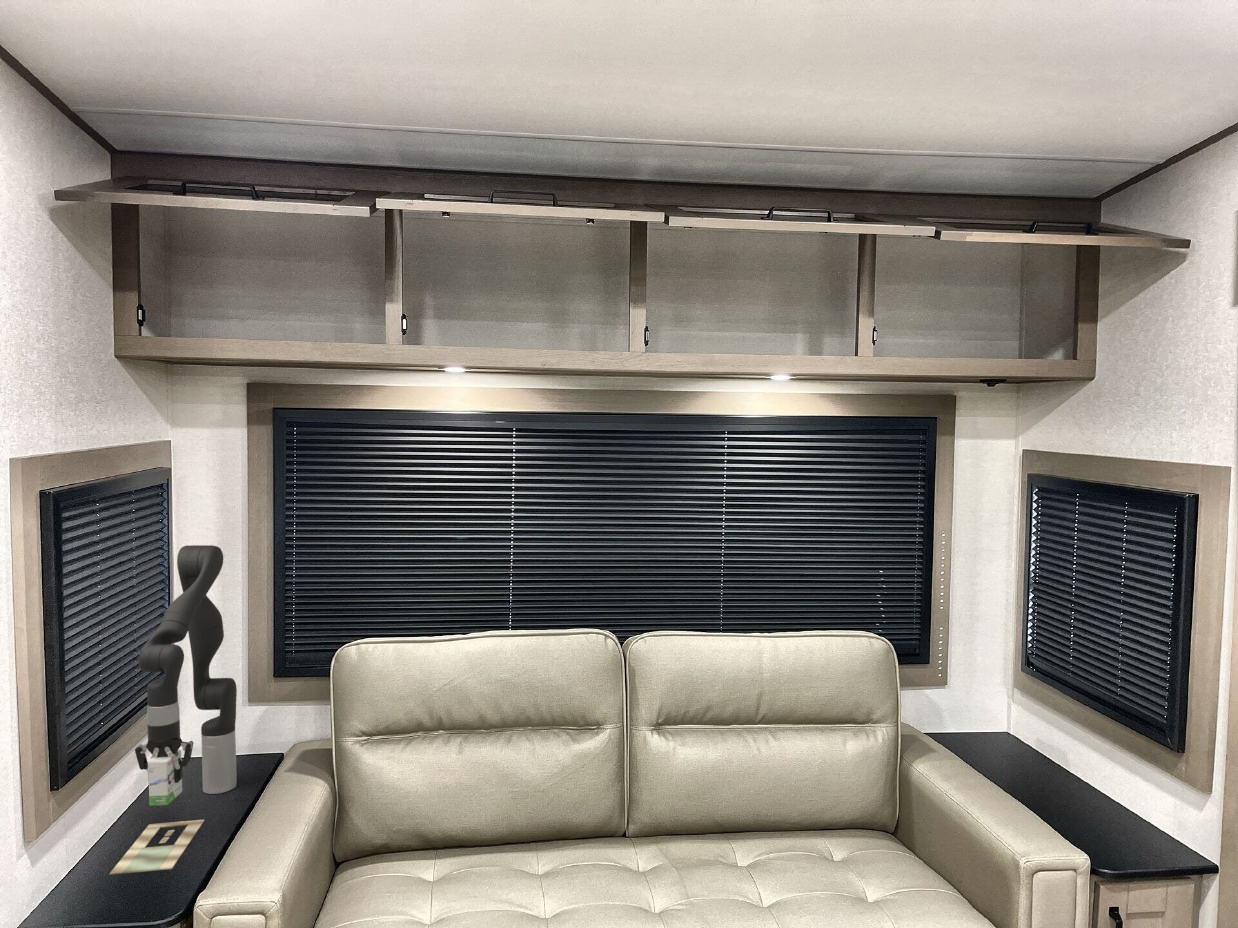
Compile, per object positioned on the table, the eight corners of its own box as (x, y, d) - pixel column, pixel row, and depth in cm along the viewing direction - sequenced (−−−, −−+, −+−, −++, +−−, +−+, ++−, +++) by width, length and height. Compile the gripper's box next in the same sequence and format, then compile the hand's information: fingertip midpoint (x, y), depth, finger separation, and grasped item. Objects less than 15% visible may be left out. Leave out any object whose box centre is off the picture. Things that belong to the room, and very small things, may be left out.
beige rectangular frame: (149, 825, 228) (149, 823, 228) (204, 820, 231) (204, 818, 231) (109, 874, 202) (109, 872, 202) (171, 868, 205) (171, 867, 205)
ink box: (168, 805, 217) (166, 760, 217) (148, 805, 217) (147, 761, 216) (183, 790, 226) (182, 748, 225) (164, 791, 225) (163, 748, 225)
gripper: (197, 712, 225) (199, 774, 226) (139, 716, 223) (141, 778, 223) (188, 722, 218) (190, 786, 219) (128, 726, 215) (130, 790, 216)
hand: (165, 782), depth 221 cm, fingers closed on ink box, 5 cm apart
